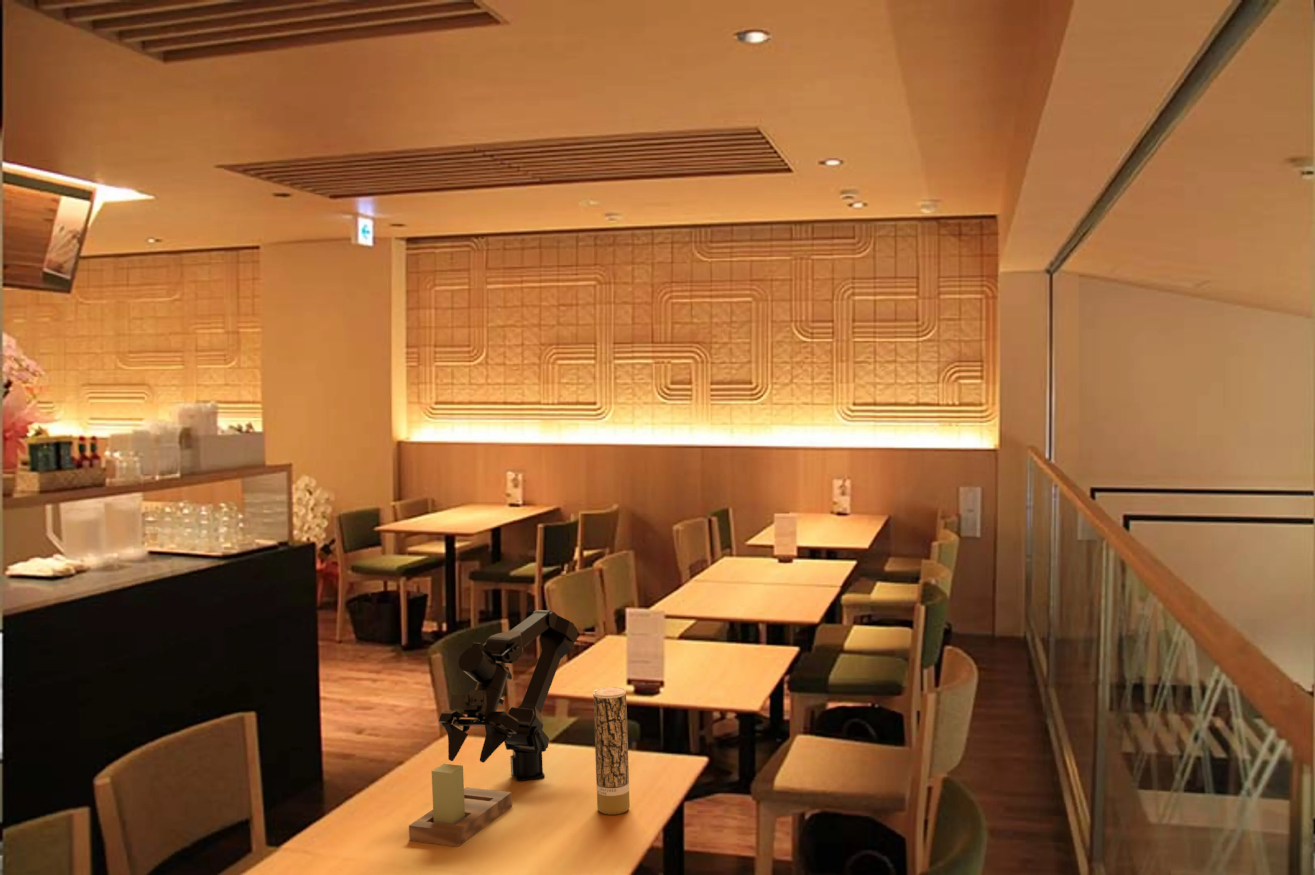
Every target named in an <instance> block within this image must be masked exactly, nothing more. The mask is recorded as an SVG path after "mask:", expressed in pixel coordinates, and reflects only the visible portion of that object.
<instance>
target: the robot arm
mask: <svg viewBox="0 0 1315 875" xmlns="http://www.w3.org/2000/svg"><path fill="white" fill-rule="evenodd" d="M578 634H579V631H578V628H577V626H575V624H574V622H573V621H570V620H568V619H566V618H564V617H562V616H559V615H558V614H557V613H556V612H555V611H552V610H547V609H546V610H544V609H537V610H534V611H533V612H532V613H531V615H529V616H528V617H527V618H526V619H524V620H522V621H521V622H520V623H519V624H517V625H516V626H514V627H513V628H511V629H510V630H507V631H504V632H498V633H496V634H492V635H490V636H489V637H488V638H487V639H486V641H485V642H484V643H481V642H472V645H471V647H469V648H467V649H466V650H464V651H463V653H461V655H460V656H459V658H458V666H459V668H460V670H461V671H463V672H464V673H465V674H466V675H467V676H469V677H470V678H471V679H472V680H473V681H475V682H477V684H476V686H475V689H470V690H469V692H468V693H467V694H462V693H461V694H459V693H457V694H456V693H453V694H449V708H448V710H444V711H443V712H441V713H440V716H439V719H438V723H439V724H441V727H442V728H444V730H445V731H446V733H447V739H448V746H447V749H448V750H447V751H448V752H447V753H448V755H447V756H448V761H451V762H453V761H454V760H455V758H456V757H457V755H458V753H459V752H460V750H461V748H462V747H463V745H464V743H465V741H466V739H467V738H468V735H469V734H468V733H467V732H468V731H469V730H470V728H471V727H484V729H485V738H484V742H483V745H482V748H481V750H480V751H481V752H480V757H479V762H480V763H485V762H486V761H487V760H488V759H489V758H490V756H492V754H494V752H495V751H496V750H497V749H498V748H499V747H501V745H502V744H503V743H504V746H505V749H506V750H507V751H512V755H510V758H509V760H510V773H511V775H512V777H514V779H515V780H516V782H522V781H529V780H535V779H541V778H545V776H546V774H545V773H544V768H543V765H544V764H543V752H546V751H547V749H548V748H549V743H550V738H549V737H548V735H547V734H546V732H544V730H543V728H544V722H543V719H542V710H543V708H544V705H545V702H546V699H547V697H548V694H549V692H550V688H551V686H552V683H553V681H554V678H555V676H556V673H557V671H558V667H559V664H560V662H561V659H562V658H564V657H565V656H566V655H567V654H569V653H570V652H571V650H572V648H573V647H574V645H575V642H576V640H577V639H578ZM538 637H539V638H538ZM536 638H538V641H539V645H540V654H539V656H538V659H537V662H536V665H535V666H534V669H533V672H532V674H531V677H530V680H529V683H528V684H527V688H526V690H525V693H524V696H523V698H522V702H521V704H520V705H519V706H517V707H515V706H514V707H513V706H512V707H511V708H510V709H509V710H508V712H506V711H502V710H501V711H497V709H498V708H499V706H503V704H504V699H502V698H501V697H502V695H503V691H504V688H505V685H506V682H507V680H512V679H513V676H512V673H511V671H510V668H509V666H503V665H502V664H511V665H512V664H515V663H517V661H518V660H519V659H520V658H521V657H522V656H523V654H524V648H525V647H526V646H528V645H529V644H530V643H532V642H533V641H534V640H535V639H536ZM457 710H460V712H458V711H457ZM463 714H464V715H463ZM465 715H467V716H465Z"/></svg>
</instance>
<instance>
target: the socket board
mask: <svg viewBox="0 0 1315 875" xmlns="http://www.w3.org/2000/svg"><path fill="white" fill-rule="evenodd" d="M512 794H513V793H512V792H511V791H504V790H495V789H485V788H478V787H477V788H476V787H467V786H466V787H464V805H465V818H464V819H463V820H461V821H460V822H459V823H457V824H456V825H449V824H441V823H434V819H433V809H431V810H429V811H428V812H427V813H426V814H424V815H423V816H421V817H419V818H418V819H417V820H414V821H413V822H412V823H410V824H409V825H408V835H409V836H408V839H409V841H411V842H419V843H426V844H434V845H439V846H448V847H449V846H450V847H456V848H458V847H460V846H462V844H464V843H465V842H466V841H468V840H470V839H471V838H472V837H473V836H475V835H476V834H477V833H478V832H480V831H482V830H483V829H484V828H485V827H486V826H488V825H489V824H491V822H493V821H495V820H496V819H497V818H498V817H500V816H501V815H503V814H504V813H505V812H506V811H507V809H508V810H510V808H512V806H513V797H512Z"/></svg>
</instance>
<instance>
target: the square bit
mask: <svg viewBox="0 0 1315 875" xmlns="http://www.w3.org/2000/svg"><path fill="white" fill-rule="evenodd" d="M464 780H465V779H464V765H461V764H460V765H459V764H451V763H450V764H449V763H443V764H441V765H439V766H437V767H436V768H434V769H432V770H431V786H432V810H433V819H434V823H441V824H449V825H456V824H457V823H459V822H460V821H461V820H463V819H464V818H465V805H464V788H465V782H464Z"/></svg>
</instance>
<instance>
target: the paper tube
mask: <svg viewBox="0 0 1315 875" xmlns="http://www.w3.org/2000/svg"><path fill="white" fill-rule="evenodd" d="M626 691H627V690H626V689H625V688H622V687H617V686H611V687H610V686H609V687H608V686H607V687H602V688H601V687H600V688H597V689H595V690H593V718H594V719H593V721H594V722H593V723H594V746H595V748H594V750H595V777H596V778H595V780H596V783H595V784H596V801H597V802H596V805H597V807H596V808H597V810H598V811H599V812H600V813H602V814H604V815H620V814H623V813H626V812H627V811H628V810H629V808H630V806H631V804H630V802H631V801H630V776H629V774H630V773H629V770H630V769H629V742H628V712H627V710H628V709H627V692H626Z"/></svg>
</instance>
